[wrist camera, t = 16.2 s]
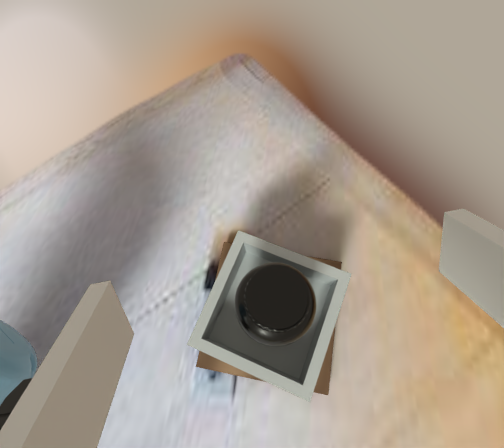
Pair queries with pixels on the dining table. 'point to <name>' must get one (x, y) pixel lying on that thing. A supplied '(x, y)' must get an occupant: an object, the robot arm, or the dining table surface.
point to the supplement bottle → (275, 304)
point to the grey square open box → (256, 354)
